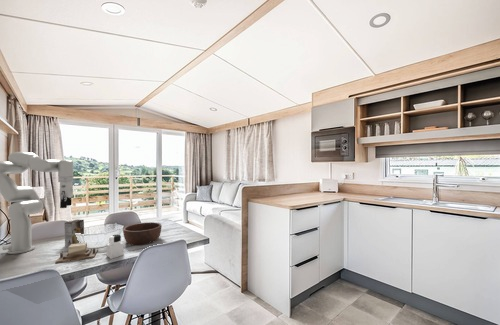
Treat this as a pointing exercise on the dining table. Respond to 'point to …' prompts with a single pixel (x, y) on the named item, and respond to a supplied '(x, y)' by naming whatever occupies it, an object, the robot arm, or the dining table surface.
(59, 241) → the dining table surface
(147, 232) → the wooden bowl
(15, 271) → the dining table surface
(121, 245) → the medicine bottle
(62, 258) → the keyed frame
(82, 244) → the oak key block
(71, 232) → the coffee box
